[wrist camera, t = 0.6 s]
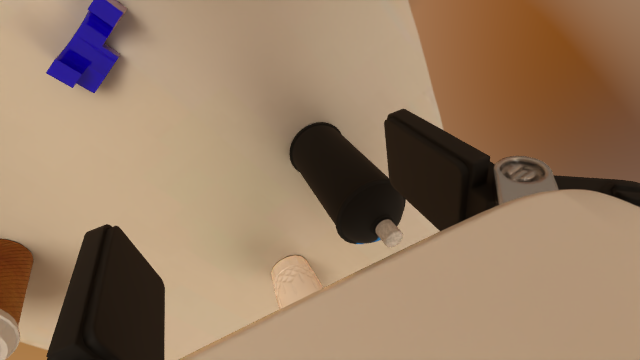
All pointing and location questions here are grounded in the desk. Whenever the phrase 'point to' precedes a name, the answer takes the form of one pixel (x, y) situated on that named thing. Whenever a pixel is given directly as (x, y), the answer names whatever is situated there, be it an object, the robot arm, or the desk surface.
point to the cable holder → (90, 48)
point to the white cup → (293, 280)
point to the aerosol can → (348, 186)
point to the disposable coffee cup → (12, 292)
